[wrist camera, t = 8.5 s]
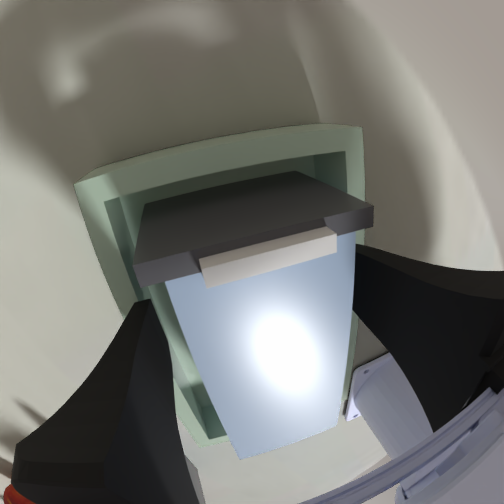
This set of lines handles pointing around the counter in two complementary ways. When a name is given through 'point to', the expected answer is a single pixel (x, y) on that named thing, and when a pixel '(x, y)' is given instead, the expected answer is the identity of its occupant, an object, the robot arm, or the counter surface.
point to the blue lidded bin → (261, 298)
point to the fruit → (14, 497)
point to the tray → (193, 179)
